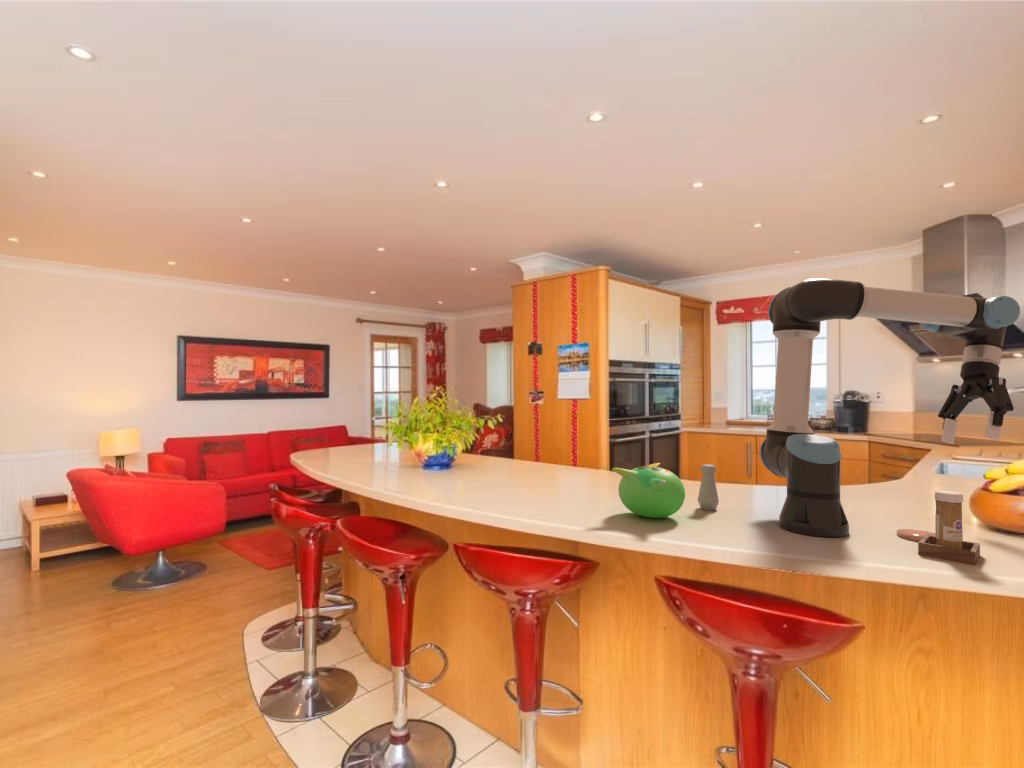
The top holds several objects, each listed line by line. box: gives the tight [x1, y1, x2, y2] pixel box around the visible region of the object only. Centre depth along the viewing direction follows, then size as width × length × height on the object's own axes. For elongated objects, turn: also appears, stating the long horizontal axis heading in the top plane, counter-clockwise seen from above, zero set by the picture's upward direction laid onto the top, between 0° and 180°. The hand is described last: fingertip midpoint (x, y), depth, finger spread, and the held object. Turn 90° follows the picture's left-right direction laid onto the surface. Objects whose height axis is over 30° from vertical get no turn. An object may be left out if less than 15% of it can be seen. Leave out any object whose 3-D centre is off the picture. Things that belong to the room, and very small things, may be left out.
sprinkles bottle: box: [934, 490, 964, 549], centre depth 107 cm, size 5×5×14 cm
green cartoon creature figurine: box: [611, 462, 686, 519], centre depth 138 cm, size 18×17×15 cm
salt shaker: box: [697, 463, 720, 511], centre depth 149 cm, size 6×6×13 cm
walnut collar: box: [917, 535, 981, 566], centre depth 107 cm, size 9×9×2 cm
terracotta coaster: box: [896, 528, 936, 543], centre depth 120 cm, size 9×9×1 cm
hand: (968, 440), depth 131 cm, fingers open, 13 cm apart
